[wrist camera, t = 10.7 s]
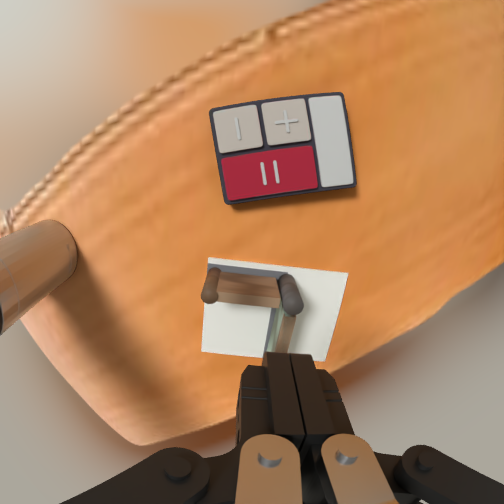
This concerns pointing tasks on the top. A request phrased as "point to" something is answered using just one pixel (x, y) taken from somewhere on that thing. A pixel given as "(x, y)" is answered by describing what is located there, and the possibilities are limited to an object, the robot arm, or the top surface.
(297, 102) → the calculator
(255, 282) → the fence fixed section
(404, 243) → the top surface
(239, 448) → the robot arm
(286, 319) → the panel
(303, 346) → the card
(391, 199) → the top surface
